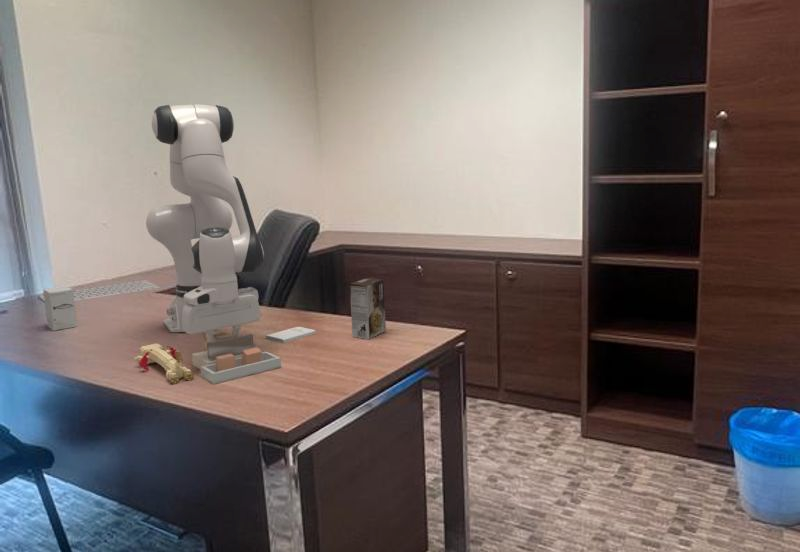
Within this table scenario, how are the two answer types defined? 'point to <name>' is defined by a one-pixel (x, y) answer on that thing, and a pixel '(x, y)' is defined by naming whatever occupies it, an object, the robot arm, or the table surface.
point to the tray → (240, 368)
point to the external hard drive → (290, 334)
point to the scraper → (227, 344)
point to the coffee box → (367, 308)
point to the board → (207, 359)
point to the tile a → (225, 362)
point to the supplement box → (60, 308)
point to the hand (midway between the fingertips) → (224, 344)
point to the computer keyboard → (110, 290)
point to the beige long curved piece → (164, 361)
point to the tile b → (251, 356)
